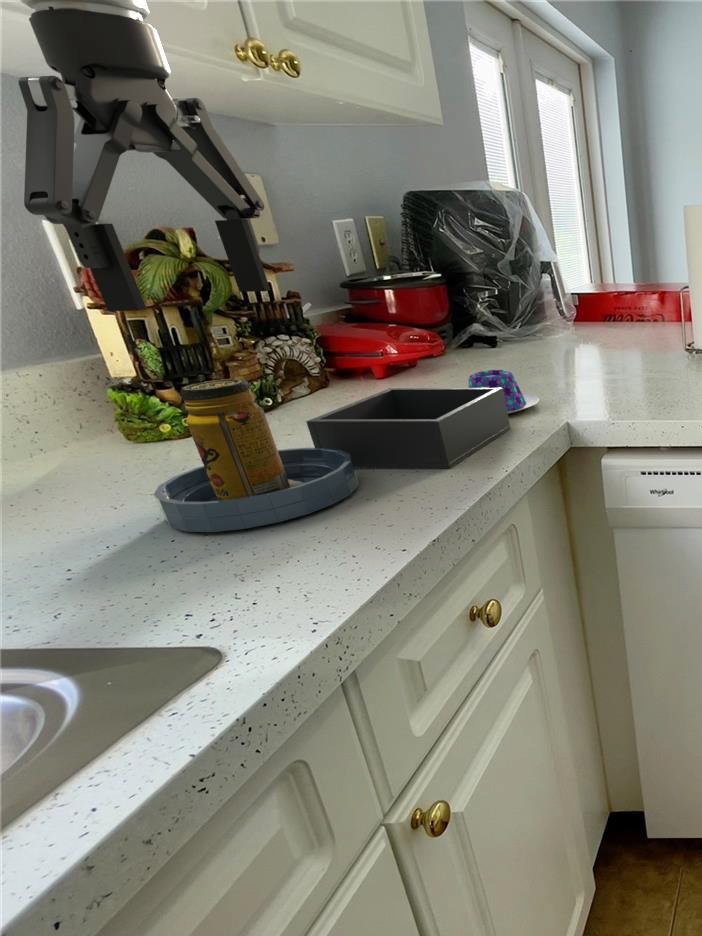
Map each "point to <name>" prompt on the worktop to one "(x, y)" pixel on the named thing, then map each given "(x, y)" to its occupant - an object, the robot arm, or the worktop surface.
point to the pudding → (510, 388)
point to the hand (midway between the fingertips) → (197, 300)
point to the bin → (414, 427)
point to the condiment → (234, 439)
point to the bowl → (199, 510)
